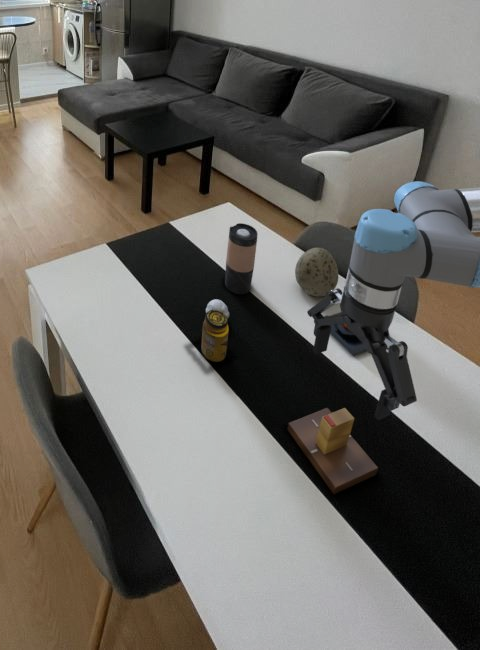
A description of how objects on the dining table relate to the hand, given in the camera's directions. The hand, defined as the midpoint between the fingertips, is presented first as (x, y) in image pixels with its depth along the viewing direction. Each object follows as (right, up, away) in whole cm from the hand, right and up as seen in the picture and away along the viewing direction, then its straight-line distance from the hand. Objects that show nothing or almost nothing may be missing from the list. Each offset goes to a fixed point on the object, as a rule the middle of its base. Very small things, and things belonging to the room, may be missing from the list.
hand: (348, 381), depth 80 cm
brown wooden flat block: (-1, -18, +5) cm, 18 cm away
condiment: (-18, -10, +27) cm, 34 cm away
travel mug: (-4, -1, +47) cm, 47 cm away
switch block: (+18, -7, +29) cm, 35 cm away
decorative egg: (+17, -1, +44) cm, 47 cm away
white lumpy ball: (-14, -6, +36) cm, 39 cm away
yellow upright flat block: (-1, -15, +4) cm, 16 cm away
